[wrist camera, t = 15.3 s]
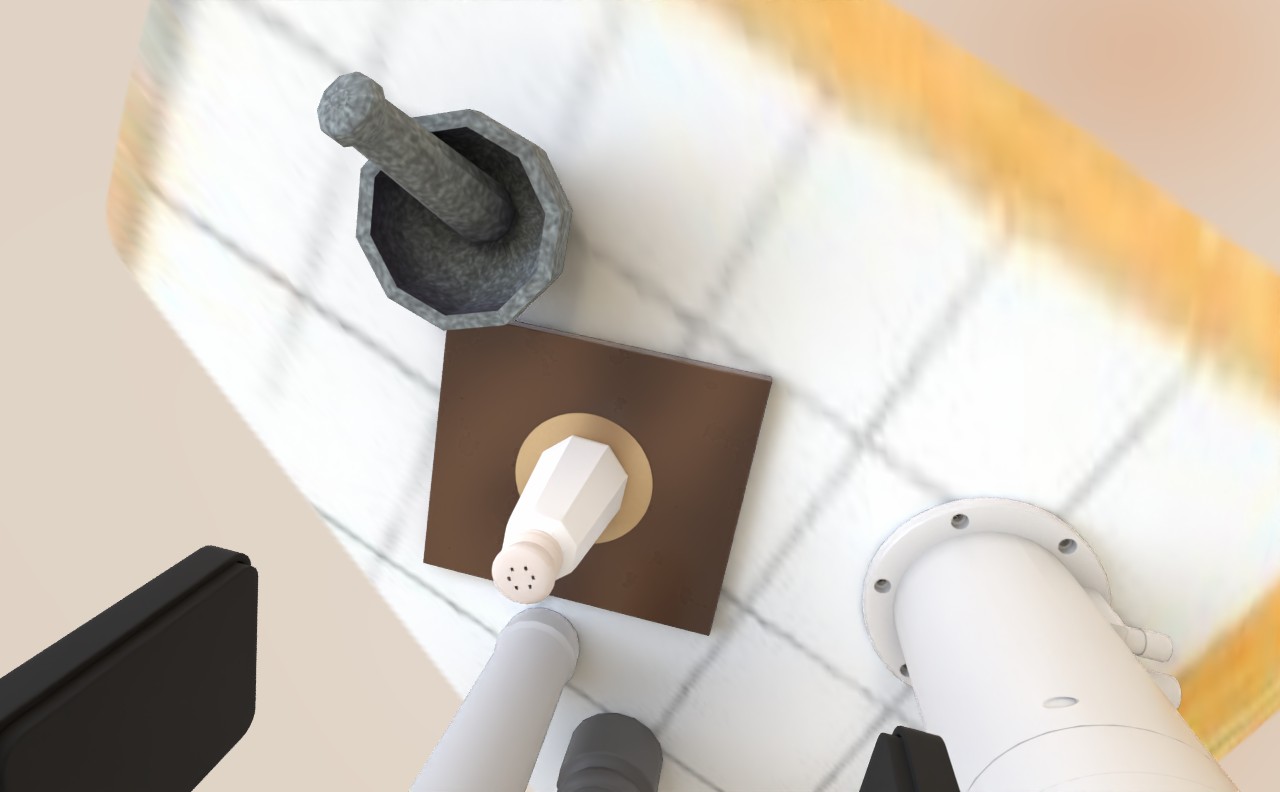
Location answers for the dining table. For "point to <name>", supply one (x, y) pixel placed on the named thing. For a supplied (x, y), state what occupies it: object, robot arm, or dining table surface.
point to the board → (638, 436)
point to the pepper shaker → (558, 517)
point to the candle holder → (611, 757)
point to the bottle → (506, 709)
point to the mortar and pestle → (450, 207)
